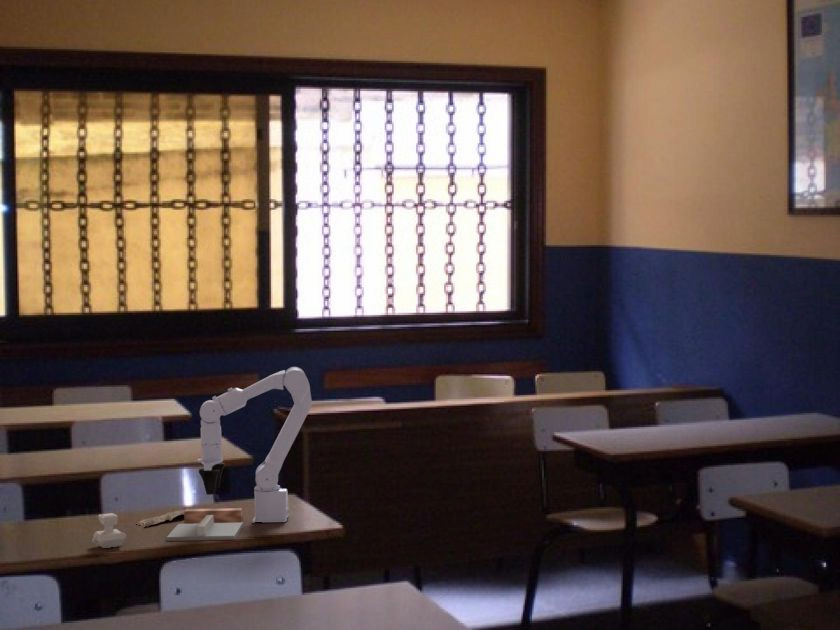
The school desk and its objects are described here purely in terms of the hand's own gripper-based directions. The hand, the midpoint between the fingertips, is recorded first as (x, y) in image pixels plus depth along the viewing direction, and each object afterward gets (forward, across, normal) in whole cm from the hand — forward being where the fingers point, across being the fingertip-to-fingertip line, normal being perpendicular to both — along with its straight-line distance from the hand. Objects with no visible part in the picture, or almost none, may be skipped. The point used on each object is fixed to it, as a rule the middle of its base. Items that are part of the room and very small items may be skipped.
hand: (212, 491), depth 359 cm
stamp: (+9, +26, -23) cm, 36 cm away
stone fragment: (+10, -5, -14) cm, 18 cm away
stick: (+9, 0, 0) cm, 9 cm away
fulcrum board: (+9, +13, 0) cm, 16 cm away
